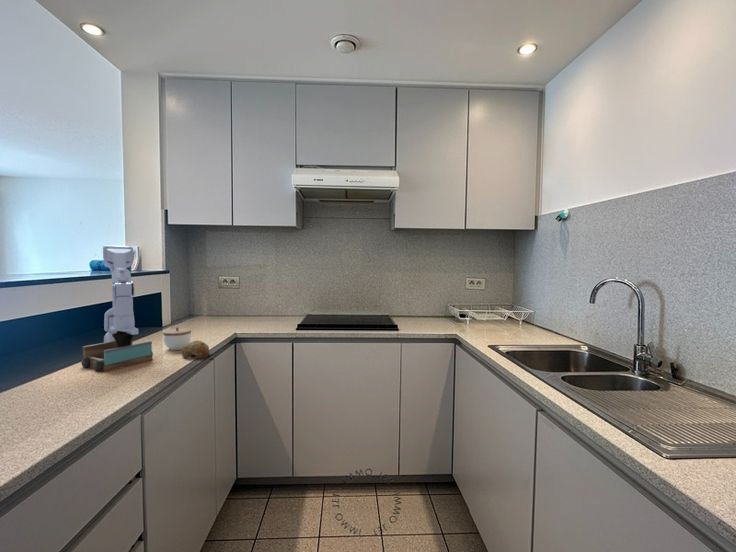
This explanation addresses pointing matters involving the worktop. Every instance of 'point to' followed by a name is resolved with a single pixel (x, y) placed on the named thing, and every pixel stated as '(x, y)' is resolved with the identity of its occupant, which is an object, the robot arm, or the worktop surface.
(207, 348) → the bread roll
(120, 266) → the robot arm
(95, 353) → the cart bed
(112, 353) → the tailgate
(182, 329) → the lidded jar
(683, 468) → the worktop surface
